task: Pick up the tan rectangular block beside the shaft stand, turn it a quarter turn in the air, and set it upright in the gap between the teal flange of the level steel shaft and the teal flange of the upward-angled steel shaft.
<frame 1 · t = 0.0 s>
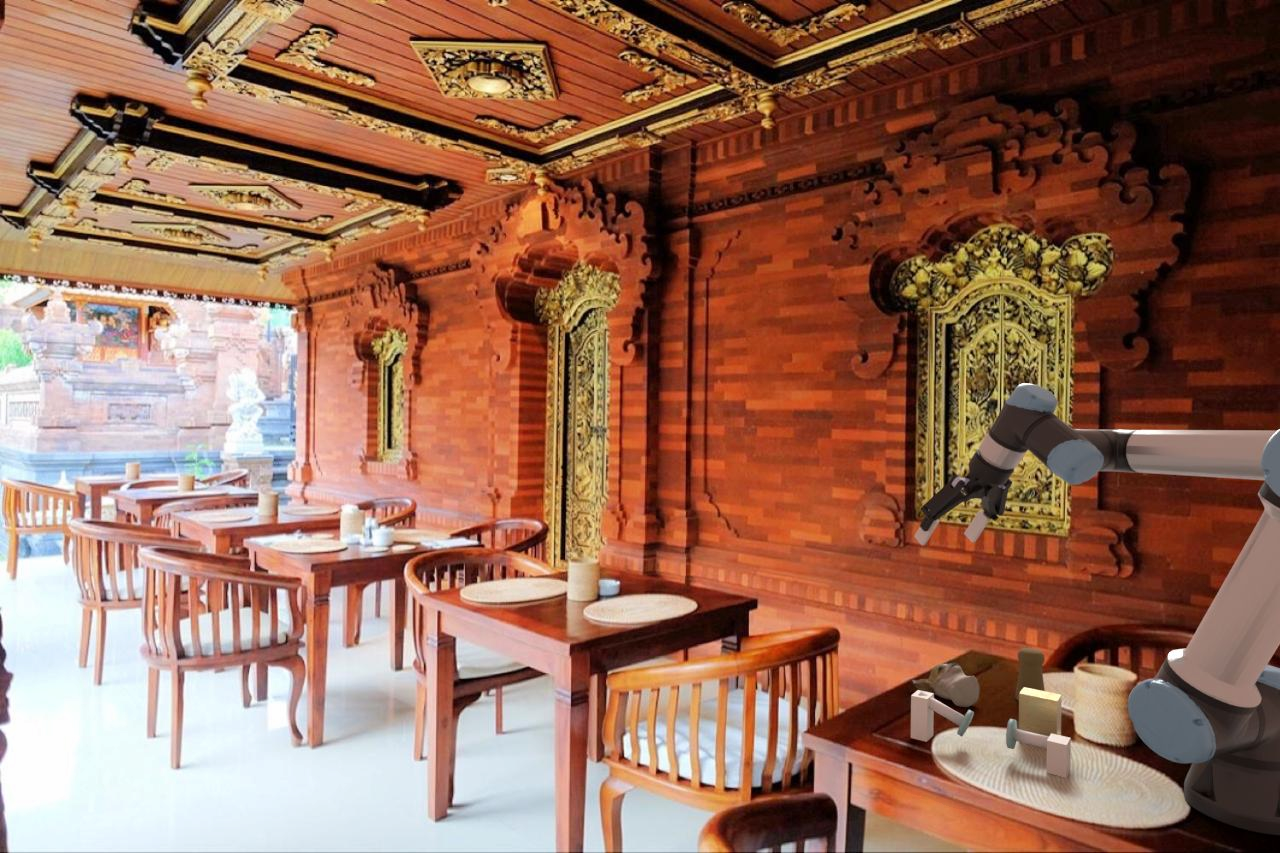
hand: (944, 539, 156), 36 cm above the table, fingers open, 13 cm apart
tan rectangular block: (1039, 741, 143), on the table
shaft stand: (989, 753, 137), on the table
ceramic sculpture: (949, 700, 166), on the table
olive pepper shaker: (1030, 700, 166), on the table
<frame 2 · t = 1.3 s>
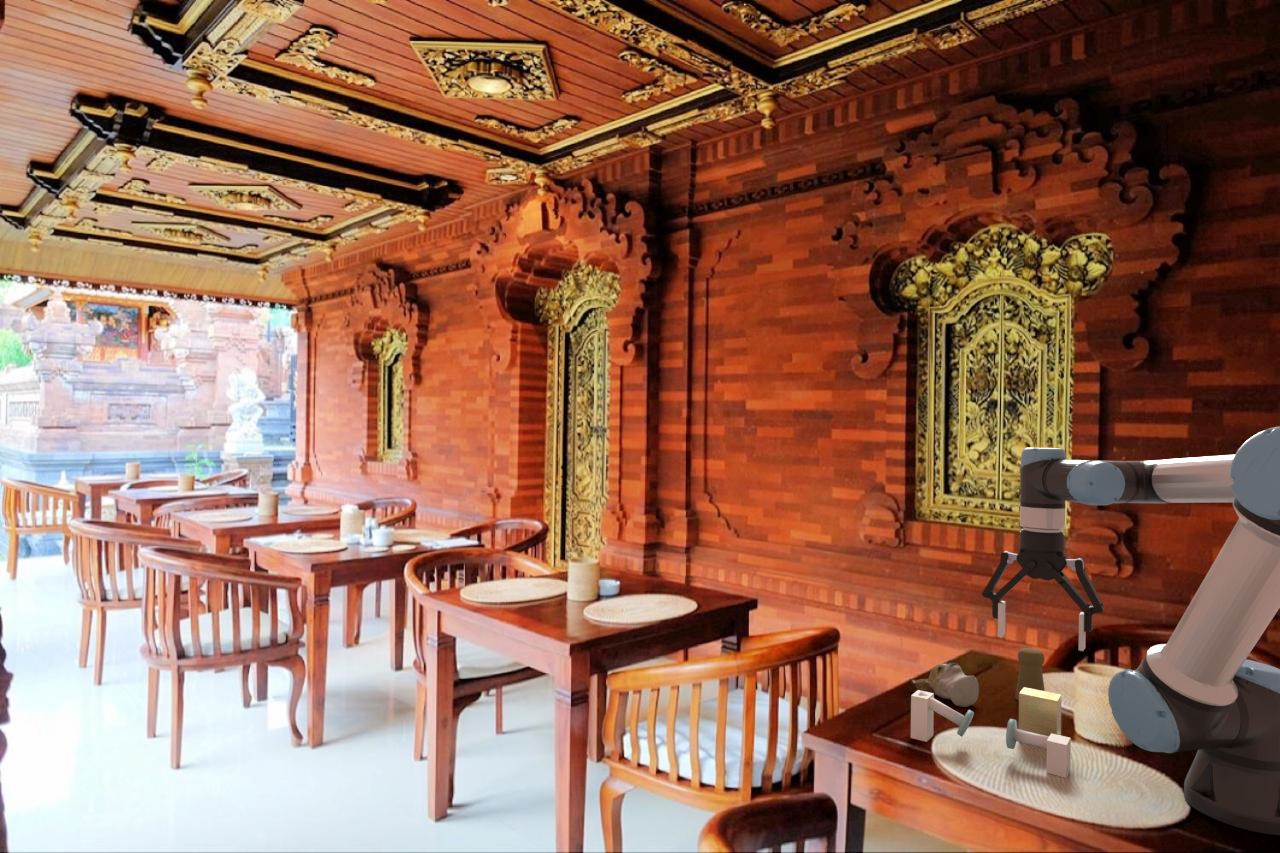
hand: (1040, 642, 143), 19 cm above the table, fingers open, 13 cm apart
nothing on the table moved.
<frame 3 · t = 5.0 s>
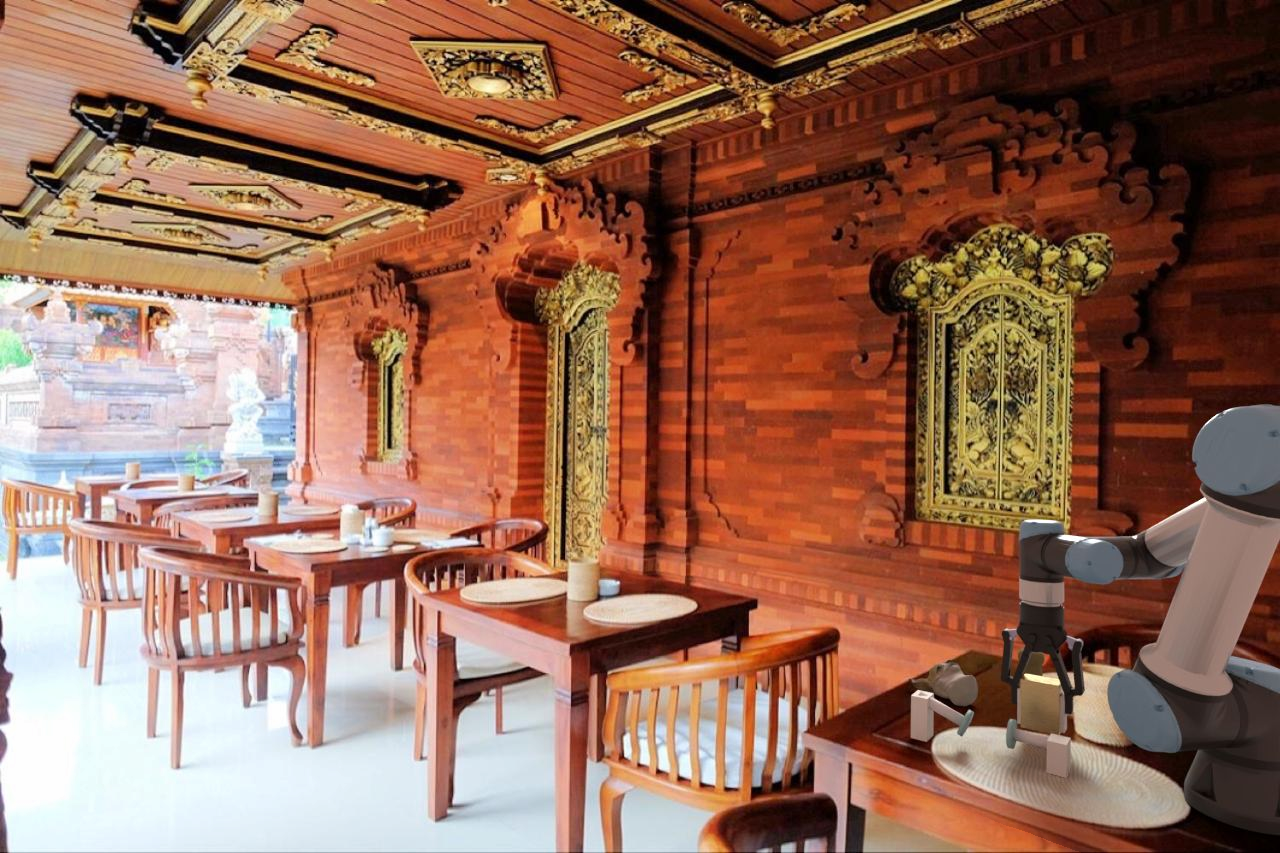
hand: (1041, 725, 143), 3 cm above the table, fingers closed on tan rectangular block, 6 cm apart
tan rectangular block: (1041, 727, 143), point 3 cm above the table, touching gripper
everything else where it was.
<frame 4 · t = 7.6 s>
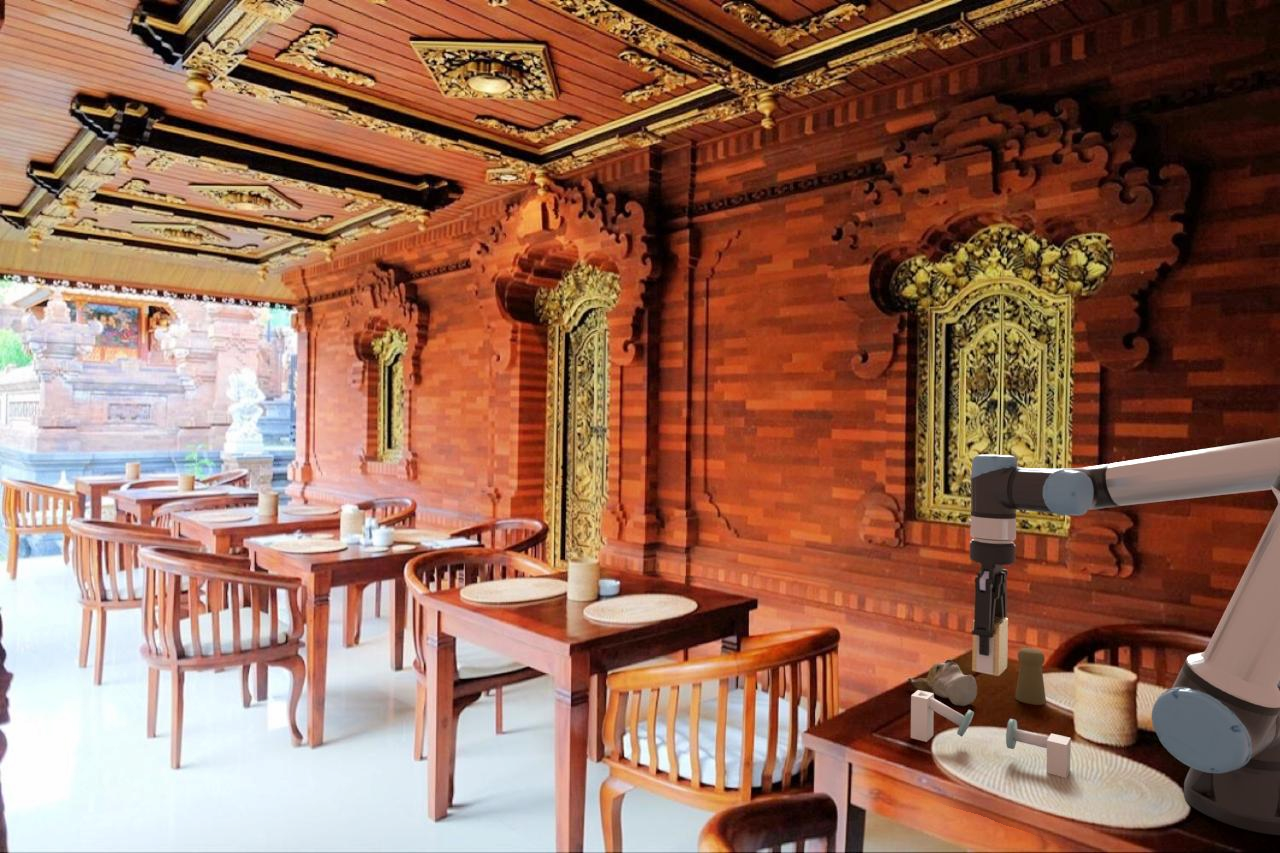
hand: (989, 667, 138), 16 cm above the table, fingers closed on tan rectangular block, 6 cm apart
tan rectangular block: (989, 669, 138), point 15 cm above the table, touching gripper
everything else where it was.
when the fingers open (1 cm above the table, at t = 10.6 s): tan rectangular block stays where it is, on the table.
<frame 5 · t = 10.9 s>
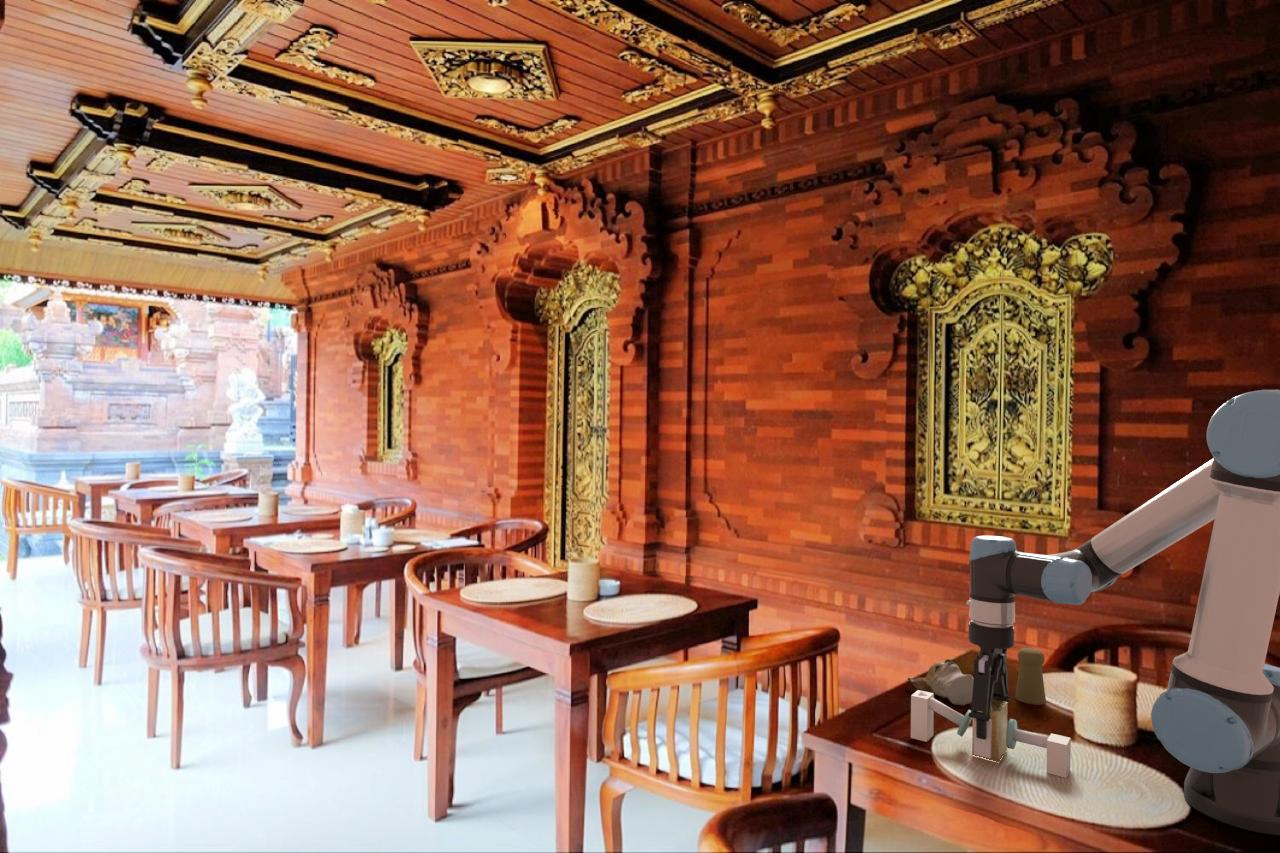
hand: (989, 746, 137), 1 cm above the table, fingers open, 10 cm apart
tan rectangular block: (989, 754, 137), on the table
everything else where it was.
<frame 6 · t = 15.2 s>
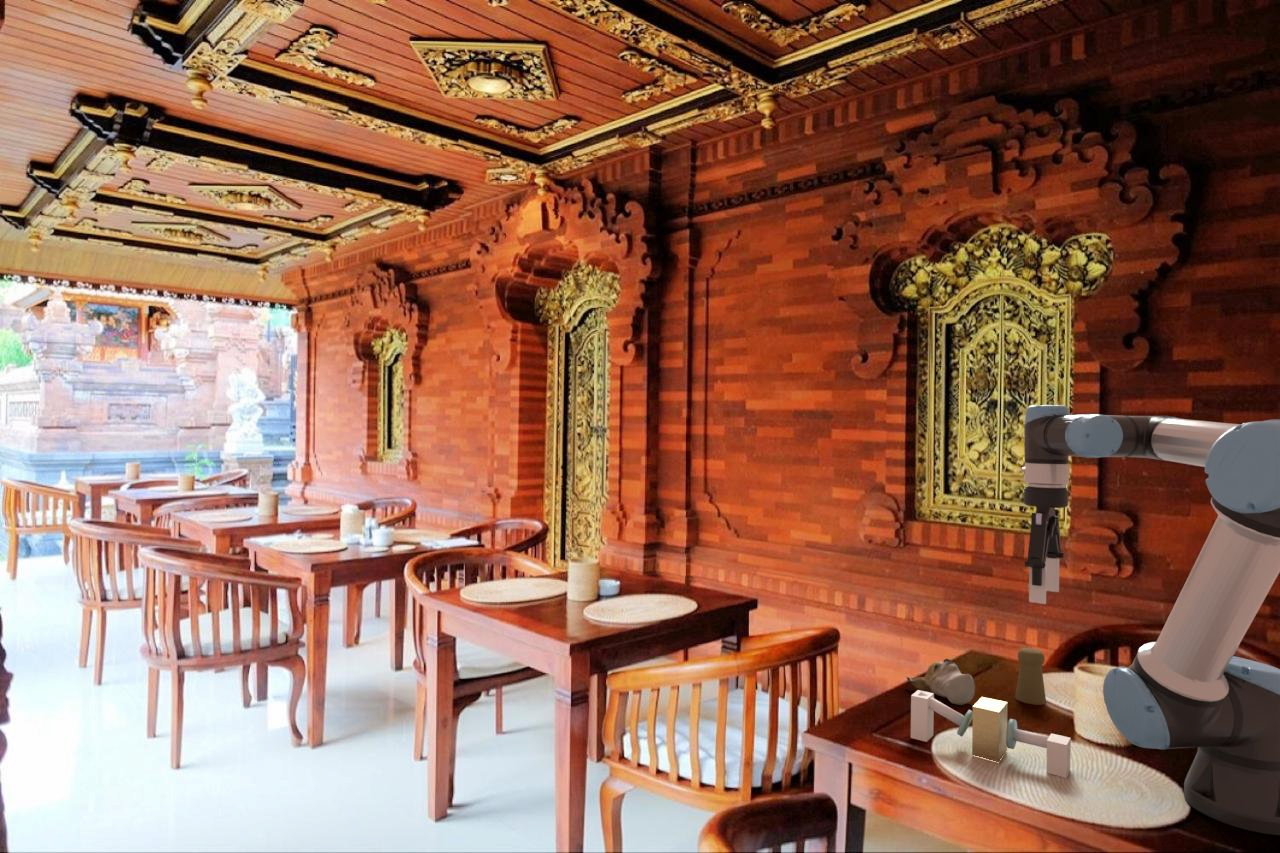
hand: (1044, 596, 146), 27 cm above the table, fingers open, 13 cm apart
at the end: tan rectangular block 0.1 cm from the target spot, on the table; tan rectangular block tilted 0°; the gripper is holding nothing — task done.
